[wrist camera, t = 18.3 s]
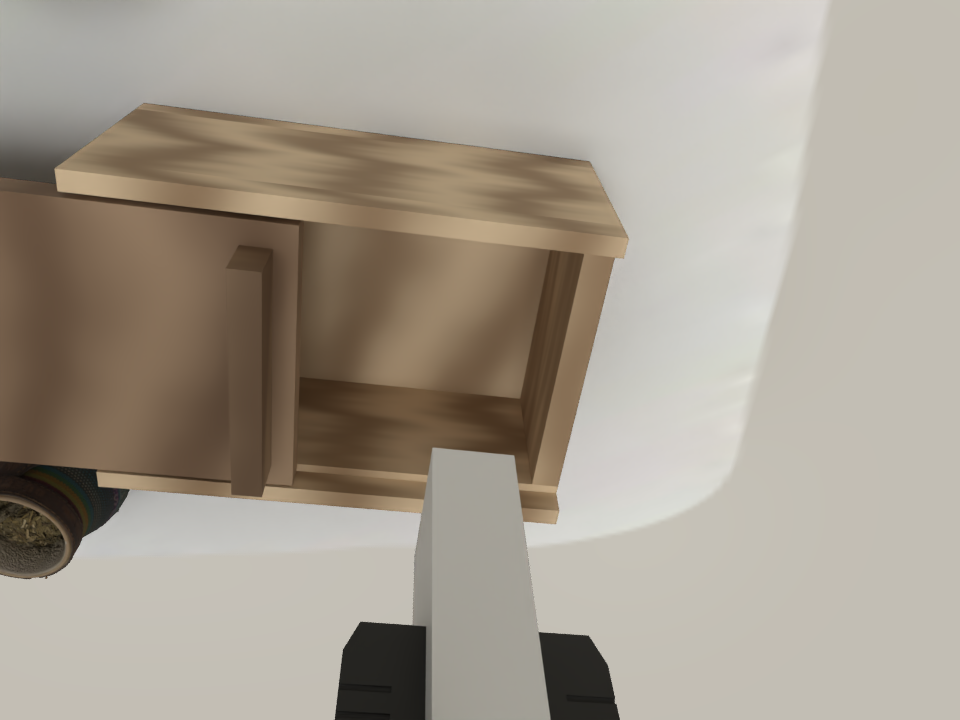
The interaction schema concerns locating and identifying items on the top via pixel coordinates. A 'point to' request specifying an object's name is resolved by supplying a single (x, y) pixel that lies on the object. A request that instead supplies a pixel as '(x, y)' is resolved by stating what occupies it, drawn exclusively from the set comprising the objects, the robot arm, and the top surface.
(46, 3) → the top surface
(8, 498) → the mate gourd
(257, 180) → the wooden box
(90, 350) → the lid
